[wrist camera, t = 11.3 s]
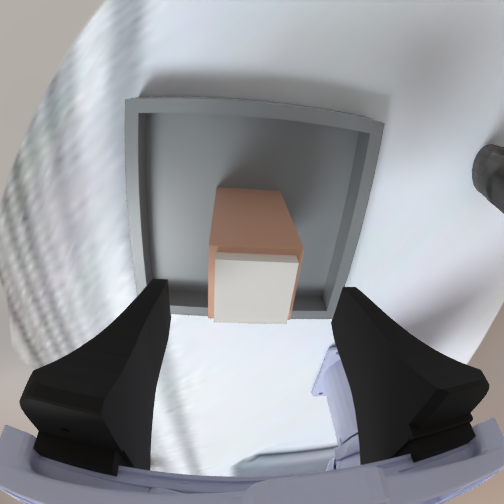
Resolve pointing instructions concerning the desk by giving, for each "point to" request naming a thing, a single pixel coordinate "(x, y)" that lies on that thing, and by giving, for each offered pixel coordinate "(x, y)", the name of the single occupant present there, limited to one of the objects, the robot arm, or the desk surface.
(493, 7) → the desk surface
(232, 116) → the tray
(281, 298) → the tan rectangular block
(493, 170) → the beverage cup
